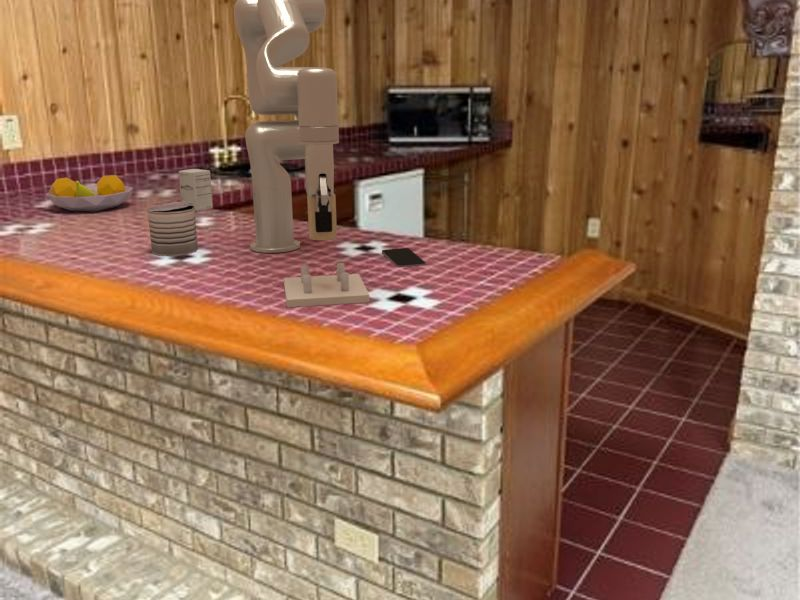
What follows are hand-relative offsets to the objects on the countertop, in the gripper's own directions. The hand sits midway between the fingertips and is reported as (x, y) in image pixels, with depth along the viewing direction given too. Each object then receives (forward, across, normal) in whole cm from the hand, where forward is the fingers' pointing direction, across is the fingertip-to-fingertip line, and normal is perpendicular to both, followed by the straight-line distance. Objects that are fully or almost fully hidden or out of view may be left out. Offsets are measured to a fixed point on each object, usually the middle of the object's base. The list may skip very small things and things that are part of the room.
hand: (322, 227), depth 147 cm
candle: (+2, 0, 0) cm, 2 cm away
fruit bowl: (+13, -114, -68) cm, 133 cm away
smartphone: (+14, -25, +21) cm, 36 cm away
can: (+14, -45, -34) cm, 58 cm away
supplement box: (+13, -106, -33) cm, 112 cm away
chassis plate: (+14, 0, 0) cm, 14 cm away
